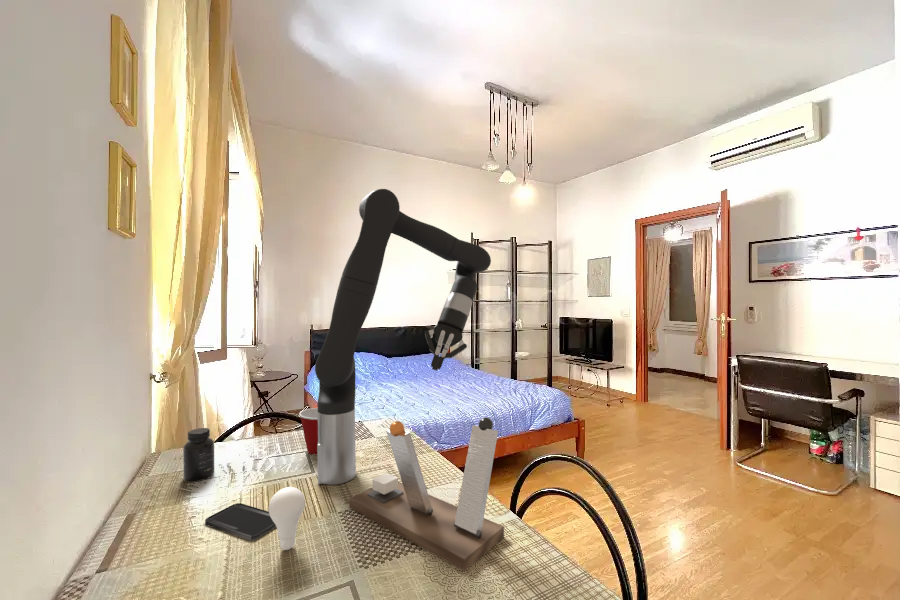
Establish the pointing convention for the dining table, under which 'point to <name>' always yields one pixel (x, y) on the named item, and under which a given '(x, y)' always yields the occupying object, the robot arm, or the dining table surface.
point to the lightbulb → (287, 514)
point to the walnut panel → (428, 525)
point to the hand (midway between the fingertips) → (434, 369)
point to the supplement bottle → (198, 455)
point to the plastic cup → (310, 429)
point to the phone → (242, 521)
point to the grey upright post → (476, 478)
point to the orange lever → (409, 468)
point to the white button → (385, 483)
